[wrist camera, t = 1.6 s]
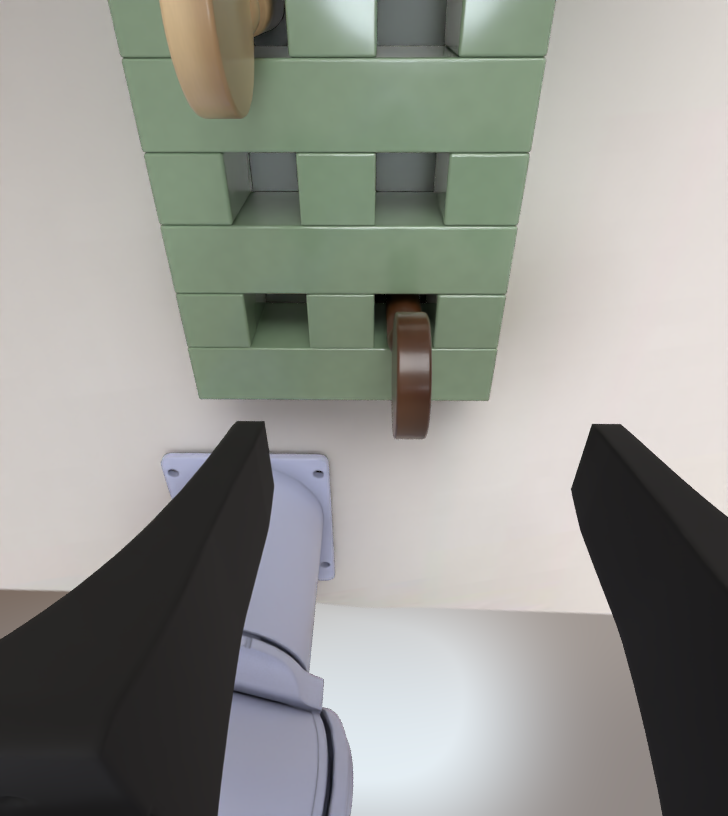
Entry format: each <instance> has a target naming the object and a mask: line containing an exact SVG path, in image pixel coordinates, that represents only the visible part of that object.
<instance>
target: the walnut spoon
mask: <svg viewBox="0 0 728 816" xmlns="http://www.w3.org/2000/svg"><path fill="white" fill-rule="evenodd" d="M385 295H386V322H387V343H388V347H389V349H390V351H391V352H392V430H393V436H394V438H395V439H425V438H426V435H427V432H428V428H429V421H430V411H431V395H432V343H431V329H430V322H429V318H428V315H427V313H425V312H422V311H421V304H420V297H419V294H385Z"/></svg>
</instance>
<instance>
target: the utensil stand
mask: <svg viewBox="0 0 728 816" xmlns="http://www.w3.org/2000/svg"><path fill="white" fill-rule="evenodd" d="M284 1H285V14H286V28H287V42H288V46H254V87H253V96H252V102H251V106H250V110H249V112H248V114H247V116H246V117H244V118H242V119H204V118H202V117H200V116H198V115H197V114H196V113H195V112H194V111H193V109H192V108H191V107H190V105H189V103H188V101H187V99H186V97H185V95H184V93H183V91H182V88H181V86H180V83H179V80H178V78H177V75H176V72H175V69H174V66H173V63H172V59H171V55H170V52H169V48H168V44H167V40H166V35H165V31H164V26H163V21H162V15H161V9H160V4H159V0H108V4H109V8H110V12H111V17H112V21H113V25H114V30H115V34H116V38H117V43H118V47H119V51H120V55H121V57H123V59H122V64H123V68H124V73H125V77H126V81H127V86H128V90H129V94H130V99H131V103H132V107H133V112H134V116H135V120H136V125H137V129H138V134H139V138H140V142H141V147H142V150H143V152H146V153H144V158H145V163H146V167H147V171H148V176H149V180H150V184H151V189H152V193H153V197H154V202H155V206H156V211H157V215H158V219H159V223H160V224H162V225H161V232H162V237H163V241H164V246H165V250H166V254H167V259H168V263H169V267H170V272H171V276H172V280H173V285H174V289H175V292H176V293H177V294H176V298H177V302H178V307H179V311H180V315H181V320H182V324H183V328H184V333H185V337H186V341H187V346H188V351H189V356H190V360H191V364H192V369H193V373H194V377H195V382H196V386H197V390H198V395H199V398H200V399H277V400H392V352H391V351H390V349H389V347H388V343H387V322H386V303H375V294H426V303H420V304H421V311H422V312H425V313H427V315H428V318H429V322H430V329H431V343H432V395H431V400H437V401H488V400H489V396H490V391H491V385H492V379H493V373H494V367H495V361H496V355H497V346H498V342H499V336H500V330H501V324H502V318H503V312H504V306H505V300H506V295H505V294H506V292H507V288H508V282H509V276H510V270H511V264H512V259H513V253H514V247H515V241H516V235H517V226H516V225H517V224H518V223H519V217H520V211H521V205H522V199H523V193H524V187H525V181H526V175H527V169H528V163H529V157H530V155H529V153H528V152H530V151H531V147H532V141H533V135H534V129H535V123H536V117H537V111H538V105H539V99H540V93H541V87H542V81H543V75H544V69H545V63H546V58H544V56H546V54H547V51H548V45H549V39H550V33H551V27H552V21H553V15H554V9H555V3H556V0H447V11H446V25H445V39H444V43H445V45H446V46H377V0H284ZM248 153H296V165H297V179H298V192H252V189H253V187H252V179H251V171H250V163H249V155H248ZM376 153H436V165H435V179H434V192H376ZM266 294H306V302H307V303H284V302H266Z"/></svg>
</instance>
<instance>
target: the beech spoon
mask: <svg viewBox="0 0 728 816" xmlns="http://www.w3.org/2000/svg"><path fill="white" fill-rule="evenodd" d="M159 4H160V9H161V15H162V21H163V26H164V31H165V35H166V40H167V44H168V48H169V52H170V55H171V59H172V63H173V66H174V69H175V72H176V75H177V78H178V80H179V83H180V86H181V88H182V91H183V93H184V95H185V97H186V99H187V101H188V103H189V105H190V107H191V108H192V109H193V111H194V112H195V113H196V114H197V115H198V116H200V117H202V118H204V119H242V118H244V117H246V116H247V114H248V112H249V110H250V106H251V102H252V96H253V87H254V41H253V37H255V36H257V35H260V34H262V33H264V32H267V31H269V30H271V29H273V28H275V27H276V26H277V25H278V24H279V22H280V21H281V19H282V16H283V12H284V2H283V0H159Z"/></svg>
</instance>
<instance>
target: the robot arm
mask: <svg viewBox="0 0 728 816" xmlns="http://www.w3.org/2000/svg"><path fill="white" fill-rule="evenodd" d="M161 466H162V470H163V473H164V476H165V479H166V482H167V486H168V489H169V492H170V495H171V499H172V500H171V501H170V502H169V503H168V505H167V506H166V507H165V508H164V509H163V510H162V511H161V512H160V513H159V514H158V515H157V516H156V517H155V518H154V519H153V520H152V521H151V522H150V523H149V524H148V525H147V526H146V527H145V528H144V529H143V530H142V531H141V532H140V533H139V534H138V535H137V536H136V537H135V538H134V539H133V540H132V541H131V542H129V543H128V544H127V545H126V546H125V547H124V548H123V549H122V550H121V551H120V552H118V553H117V554H116V555H115V556H114V557H113V558H111V559H110V560H109V561H108V562H107V563H105V564H104V565H103V566H102V567H101V568H99V569H98V570H97V571H96V572H95V573H93V574H92V575H91V576H90V577H88V578H87V579H86V580H85V581H83V582H82V583H81V584H80V585H78V586H77V587H76V588H75V589H73V590H72V591H71V592H69V593H68V594H66V595H65V596H64V597H62V598H61V599H60V600H58V601H57V602H55V603H54V604H52V605H51V606H50V607H48V608H47V609H46V610H44V611H43V612H41V613H40V614H38V615H37V616H35V617H34V618H32V619H31V620H29V621H28V622H26V623H25V624H24V625H22V626H20V627H19V628H17V629H16V630H14V631H13V632H11V633H10V634H8V635H7V636H5V637H3V638H2V639H0V816H350V814H351V807H352V796H353V764H352V756H351V750H350V746H349V743H348V740H347V738H346V734H345V731H344V728H343V725H342V722H341V720H340V719H339V717H338V715H337V714H336V713H335V712H334V711H332V710H331V709H328V708H324V707H322V700H323V687H324V680H323V679H322V678H320V677H317V676H314V675H312V674H310V673H309V668H310V657H311V647H312V636H313V625H314V615H315V605H316V594H317V584H318V580H331V579H333V578H334V576H335V560H334V542H333V525H332V507H331V490H330V472H329V461H328V458H327V457H326V456H324V455H321V454H269V448H268V441H267V435H266V428H265V422H264V421H237V422H236V423H235V424H234V425H233V426H232V427H231V428H230V430H229V431H228V432H227V434H226V435H225V436H224V438H223V439H222V440H221V442H220V443H219V444H218V446H217V447H216V448H215V449H214V451H213V452H212V453H168V454H166V455H164V457H163V458H162V461H161ZM172 469H174V470H176V471H173V470H172ZM318 470H319V471H322V472H320V473H319V472H316V471H318ZM571 491H572V496H573V501H574V505H575V510H576V514H577V518H578V522H579V526H580V530H581V533H582V536H583V539H584V541H585V544H586V547H587V549H588V552H589V555H590V557H591V560H592V563H593V565H594V568H595V570H596V573H597V576H598V578H599V581H600V583H601V586H602V589H603V591H604V594H605V596H606V599H607V602H608V604H609V607H610V609H611V612H612V614H613V617H614V620H615V622H616V625H617V628H618V631H619V634H620V637H621V640H622V643H623V647H624V650H625V654H626V658H627V661H628V665H629V668H630V673H631V676H632V680H633V683H634V688H635V692H636V696H637V700H638V703H639V708H640V712H641V716H642V720H643V725H644V729H645V733H646V737H647V742H648V746H649V751H650V756H651V760H652V765H653V770H654V774H655V779H656V784H657V788H658V794H659V799H660V804H661V810H662V815H663V816H728V517H727V516H726V515H725V514H723V513H722V512H721V511H720V510H718V509H717V508H716V507H715V506H713V505H712V504H711V503H710V502H708V501H707V500H706V499H705V498H704V497H702V496H701V495H700V494H699V493H698V492H697V491H695V490H694V489H693V488H692V487H691V486H690V485H688V484H687V483H686V482H685V481H684V480H683V479H681V478H680V477H679V476H678V475H677V474H676V473H675V472H674V471H672V470H671V469H670V468H669V467H668V466H667V465H666V464H665V463H664V462H662V461H661V460H660V459H659V458H658V457H657V456H656V455H655V454H654V453H652V452H651V451H650V450H649V449H648V448H647V447H646V446H645V445H644V444H643V443H641V442H640V441H639V440H638V439H637V438H636V437H635V436H634V435H633V434H631V433H630V432H629V431H628V430H627V429H626V428H624V427H623V426H622V425H621V424H592V426H591V429H590V432H589V436H588V439H587V442H586V445H585V448H584V451H583V454H582V457H581V460H580V463H579V466H578V469H577V472H576V476H575V479H574V482H573V485H572V488H571Z"/></svg>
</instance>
